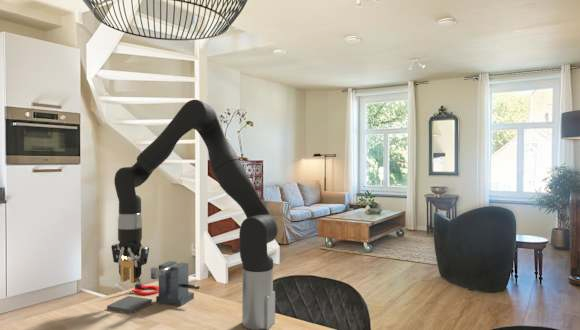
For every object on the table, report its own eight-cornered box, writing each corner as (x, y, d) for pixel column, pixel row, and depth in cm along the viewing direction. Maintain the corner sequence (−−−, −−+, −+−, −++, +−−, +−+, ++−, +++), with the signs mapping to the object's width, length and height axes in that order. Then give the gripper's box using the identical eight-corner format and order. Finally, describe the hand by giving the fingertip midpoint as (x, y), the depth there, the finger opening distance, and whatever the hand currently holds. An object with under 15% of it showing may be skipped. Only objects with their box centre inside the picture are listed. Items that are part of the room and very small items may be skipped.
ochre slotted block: (139, 280, 138) (139, 260, 138) (133, 283, 135) (133, 262, 135) (126, 278, 140) (126, 258, 140) (120, 281, 137) (120, 260, 137)
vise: (206, 300, 144) (206, 259, 144) (179, 317, 129) (179, 271, 129) (170, 294, 149) (170, 255, 149) (140, 310, 134) (140, 266, 134)
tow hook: (164, 290, 156) (142, 287, 157) (165, 256, 155) (143, 254, 157) (153, 297, 147) (129, 294, 149) (154, 262, 147) (131, 259, 149)
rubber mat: (151, 302, 141) (151, 299, 141) (131, 313, 131) (131, 309, 131) (128, 299, 144) (128, 295, 144) (107, 309, 135) (107, 305, 135)
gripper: (155, 226, 138) (155, 275, 139) (120, 223, 143) (120, 270, 143) (140, 229, 131) (140, 282, 132) (104, 226, 136) (104, 277, 136)
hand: (130, 276), depth 138 cm, fingers closed on ochre slotted block, 5 cm apart
